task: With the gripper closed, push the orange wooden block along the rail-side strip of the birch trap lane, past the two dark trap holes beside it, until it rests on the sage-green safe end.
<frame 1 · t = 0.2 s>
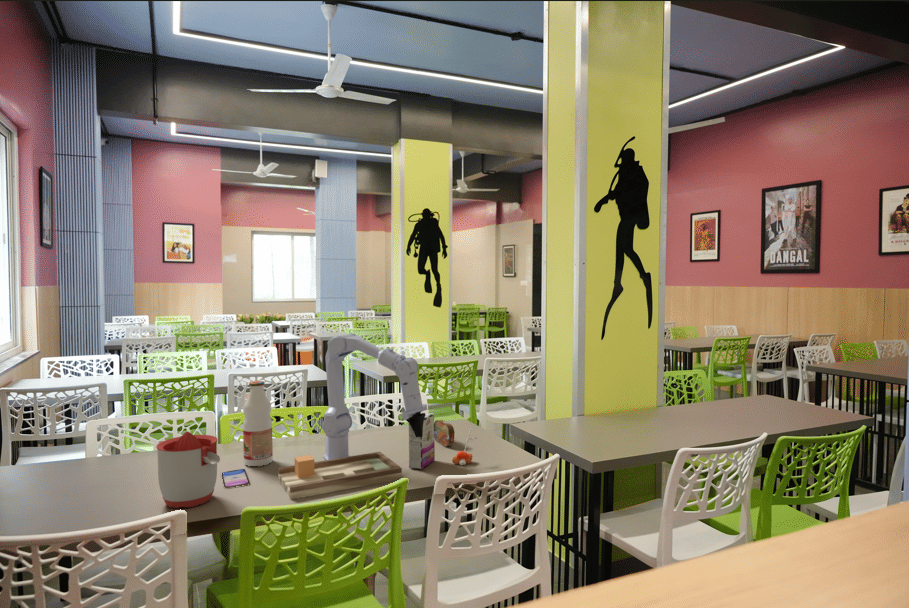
hand: (419, 436, 179), 12 cm above the table, tool pointing down, fingers closed
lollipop: (465, 463, 188), on the table
trap lane: (339, 478, 174), on the table
fruit juice: (258, 463, 190), on the table
block: (304, 474, 173), point 2 cm above the table, touching trap lane
smartphone: (235, 480, 174), on the table
citrus juicer: (191, 502, 157), on the table
candy bar box: (421, 464, 187), on the table, touching gripper
tin: (444, 444, 211), on the table
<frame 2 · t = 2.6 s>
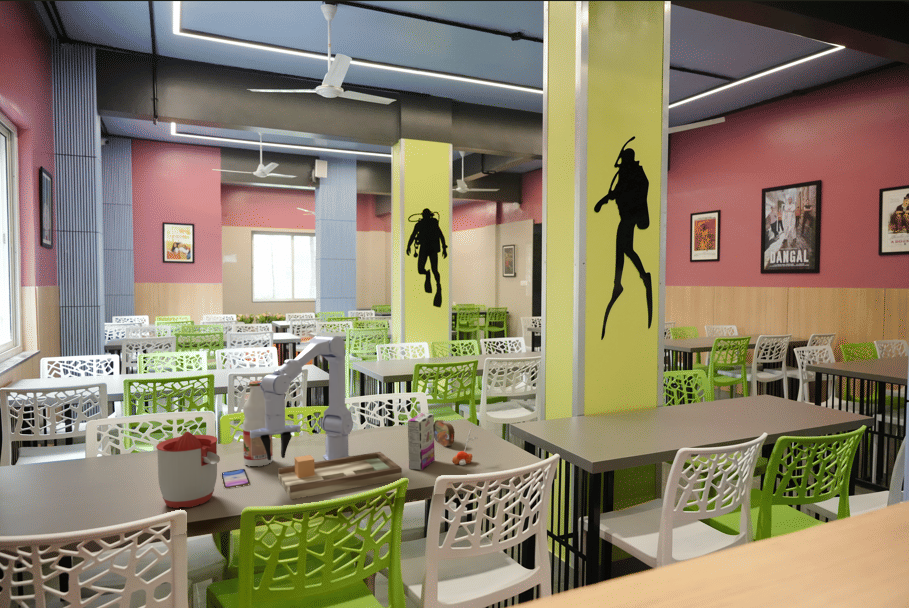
hand: (276, 458, 168), 8 cm above the table, tool pointing down, fingers open, 3 cm apart
candy bar box: (421, 465, 187), on the table
everything else where it was.
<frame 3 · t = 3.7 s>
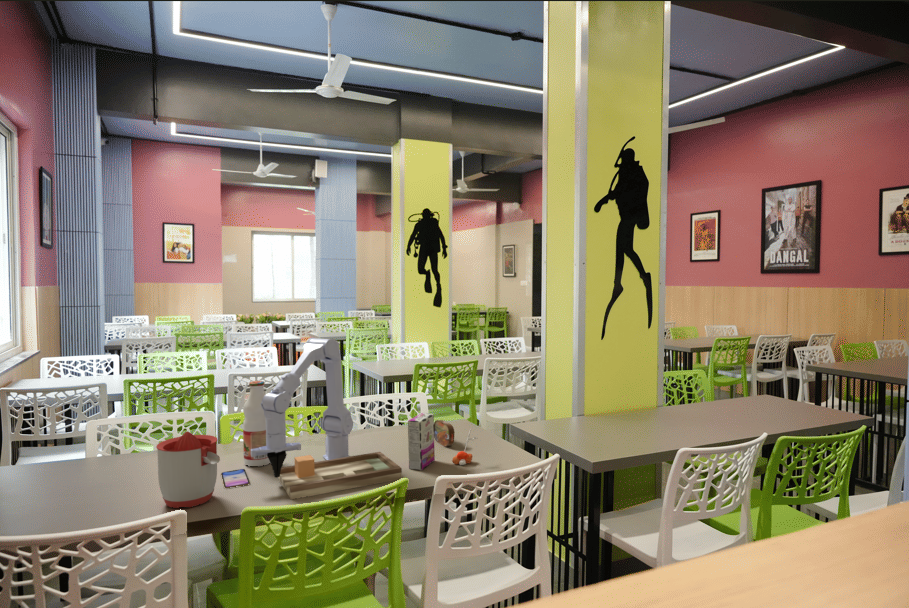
hand: (276, 476, 169), 3 cm above the table, tool pointing down, fingers closed
nothing on the table moved.
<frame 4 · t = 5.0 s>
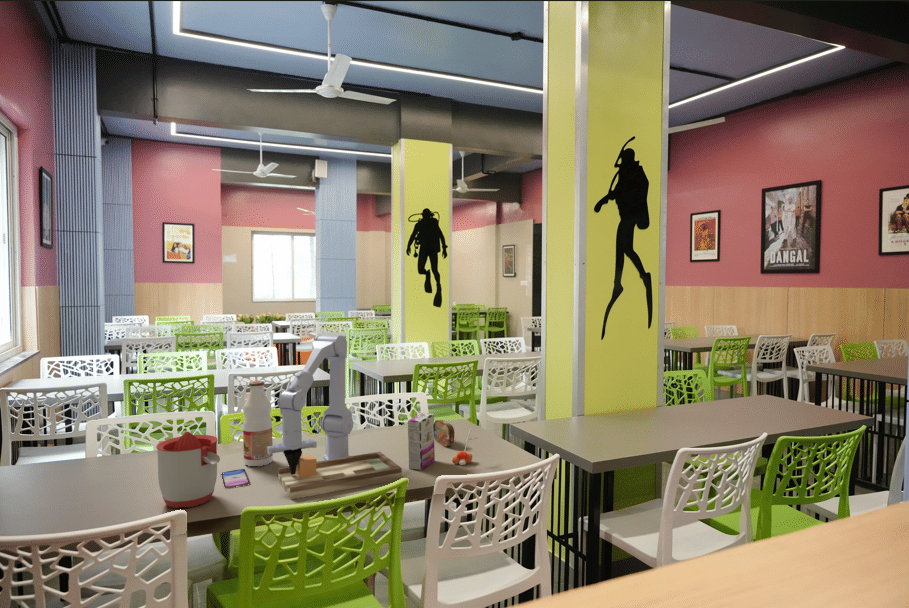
hand: (292, 473, 171), 3 cm above the table, tool pointing down, fingers closed
block: (306, 473, 173), point 2 cm above the table, touching gripper
everything else where it was.
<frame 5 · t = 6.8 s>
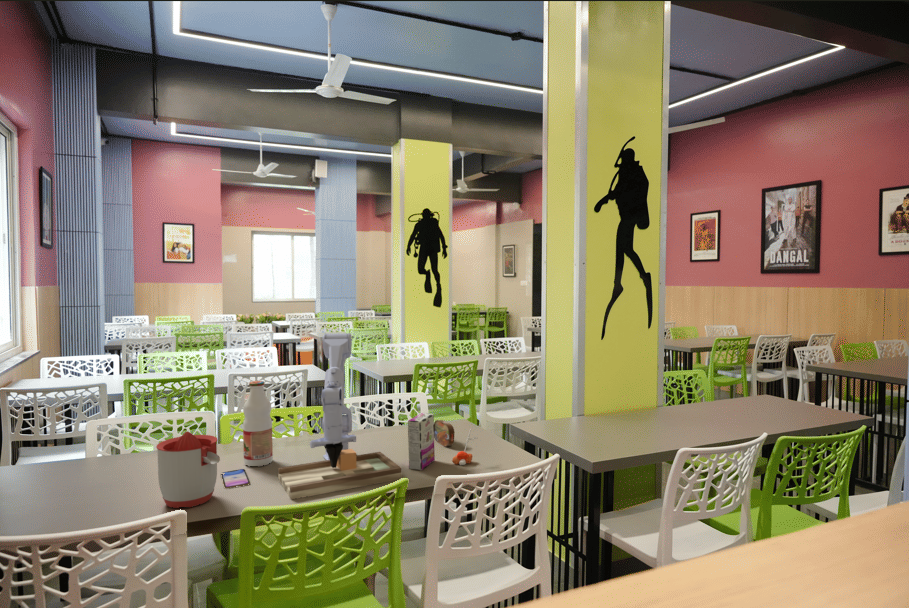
hand: (333, 466, 177), 3 cm above the table, tool pointing down, fingers closed
block: (346, 467, 179), point 2 cm above the table, touching gripper
everything else where it was.
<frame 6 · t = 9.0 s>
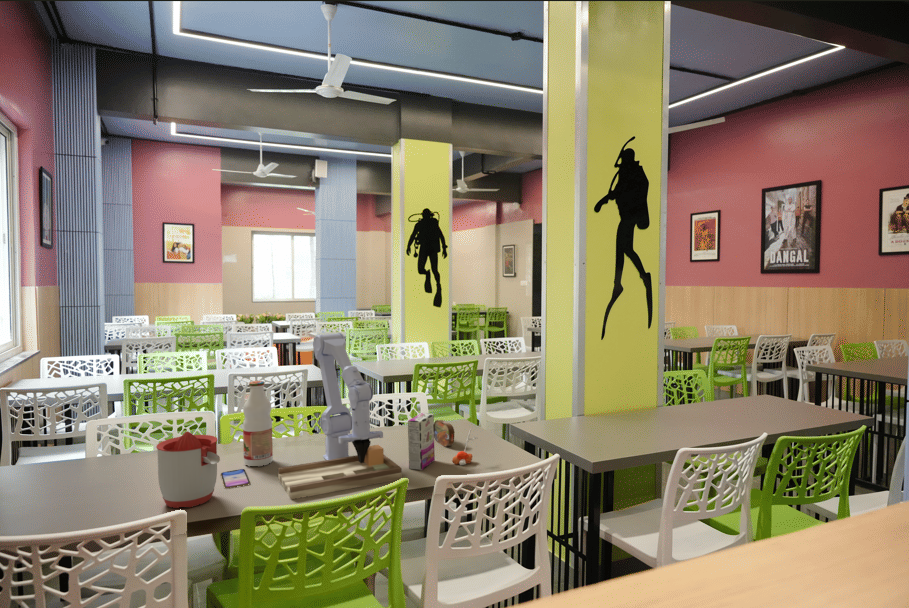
hand: (361, 462, 181), 3 cm above the table, tool pointing down, fingers closed
block: (373, 462, 183), point 2 cm above the table, touching gripper, trap lane
everything else where it was.
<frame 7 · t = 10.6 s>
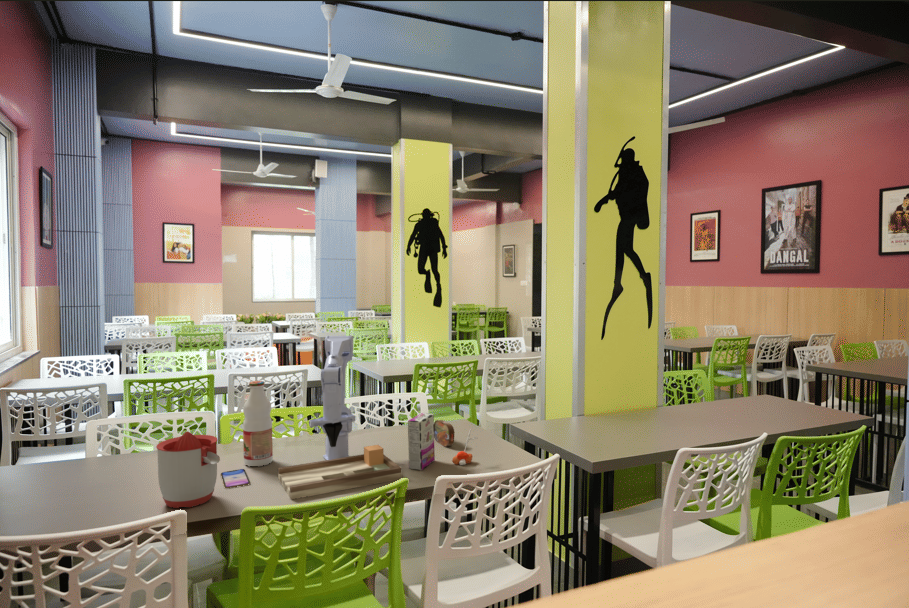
hand: (332, 446, 178), 9 cm above the table, tool pointing down, fingers closed
block: (373, 462, 183), point 2 cm above the table, touching trap lane
everything else where it was.
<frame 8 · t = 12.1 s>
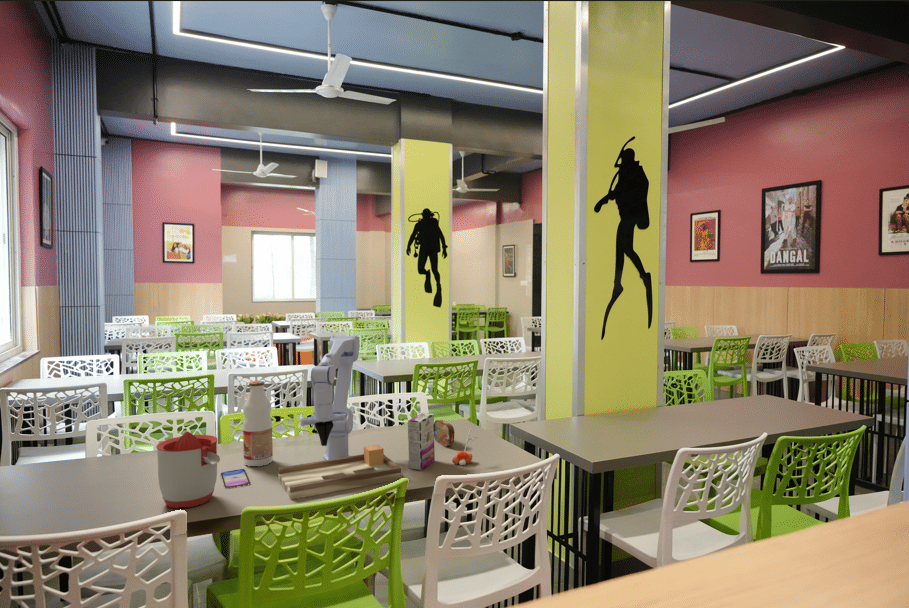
hand: (323, 445, 178), 9 cm above the table, tool pointing down, fingers closed
nothing on the table moved.
at the end: block 0.6 cm from the target spot, point 2.0 cm above the table; block tilted 0°; the gripper is holding nothing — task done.
